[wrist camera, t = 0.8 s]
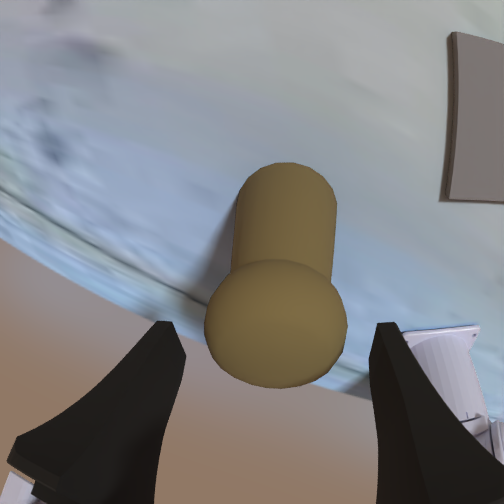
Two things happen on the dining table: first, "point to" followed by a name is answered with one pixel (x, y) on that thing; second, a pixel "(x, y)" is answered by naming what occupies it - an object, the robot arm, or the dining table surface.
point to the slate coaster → (477, 120)
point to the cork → (279, 283)
